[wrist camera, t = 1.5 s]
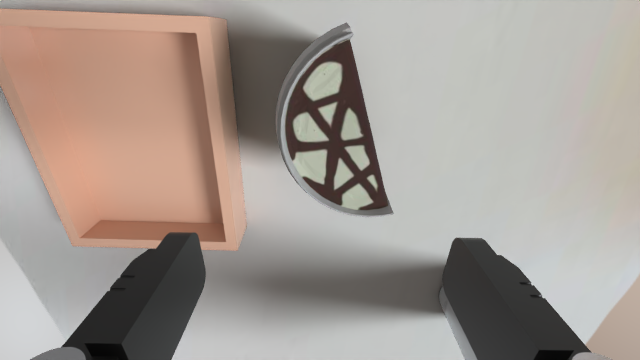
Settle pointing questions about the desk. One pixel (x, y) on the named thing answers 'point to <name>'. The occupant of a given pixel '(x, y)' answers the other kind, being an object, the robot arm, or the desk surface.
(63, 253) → the desk surface
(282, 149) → the food container
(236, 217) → the terracotta dish
